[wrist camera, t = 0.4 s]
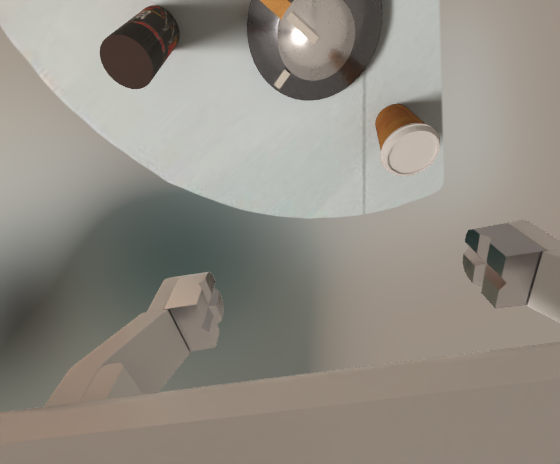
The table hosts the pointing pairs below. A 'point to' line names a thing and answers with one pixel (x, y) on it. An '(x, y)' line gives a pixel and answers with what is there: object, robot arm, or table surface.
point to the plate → (270, 65)
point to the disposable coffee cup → (405, 141)
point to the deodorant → (140, 47)
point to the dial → (313, 35)
